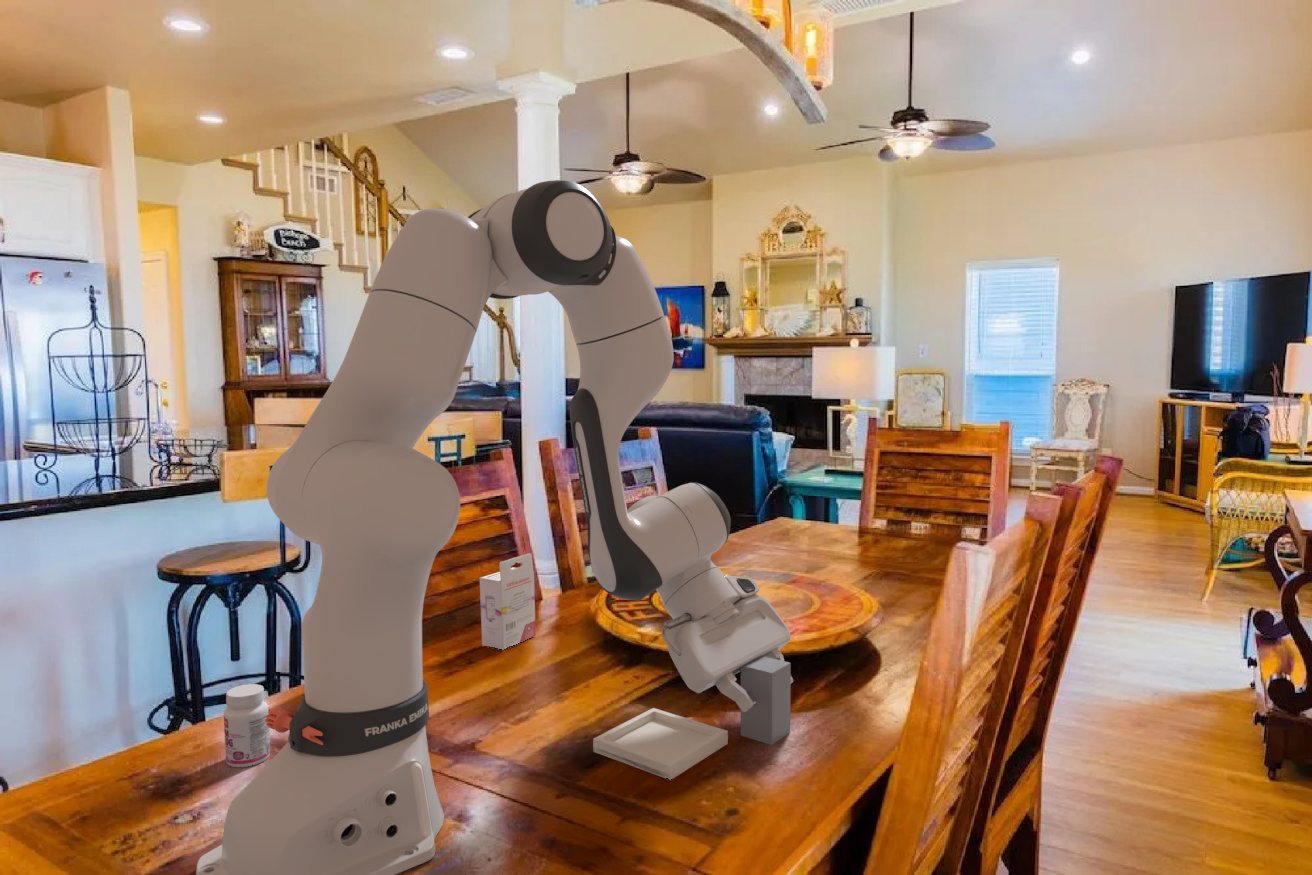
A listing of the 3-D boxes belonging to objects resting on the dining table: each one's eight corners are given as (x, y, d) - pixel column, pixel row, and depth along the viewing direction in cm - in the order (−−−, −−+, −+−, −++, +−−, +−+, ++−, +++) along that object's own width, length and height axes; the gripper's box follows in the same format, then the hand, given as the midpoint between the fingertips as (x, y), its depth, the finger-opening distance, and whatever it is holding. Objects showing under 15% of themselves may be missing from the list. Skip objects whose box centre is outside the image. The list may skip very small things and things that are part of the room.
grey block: (771, 745, 103) (772, 673, 102) (740, 735, 106) (740, 665, 105) (790, 732, 106) (790, 662, 106) (759, 723, 109) (759, 655, 108)
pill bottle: (216, 764, 99) (212, 694, 98) (250, 747, 103) (247, 680, 103) (245, 771, 97) (242, 700, 96) (279, 754, 101) (276, 685, 101)
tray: (670, 780, 94) (670, 766, 94) (593, 751, 101) (593, 738, 101) (727, 743, 103) (727, 730, 103) (653, 719, 110) (653, 707, 110)
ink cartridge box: (514, 632, 148) (512, 549, 146) (536, 637, 145) (534, 552, 144) (480, 646, 140) (477, 559, 139) (502, 651, 138) (500, 562, 136)
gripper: (670, 610, 101) (739, 710, 96) (760, 576, 117) (823, 660, 112) (641, 640, 104) (707, 738, 99) (732, 603, 120) (793, 685, 115)
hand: (770, 696), depth 105 cm, fingers open, 7 cm apart
